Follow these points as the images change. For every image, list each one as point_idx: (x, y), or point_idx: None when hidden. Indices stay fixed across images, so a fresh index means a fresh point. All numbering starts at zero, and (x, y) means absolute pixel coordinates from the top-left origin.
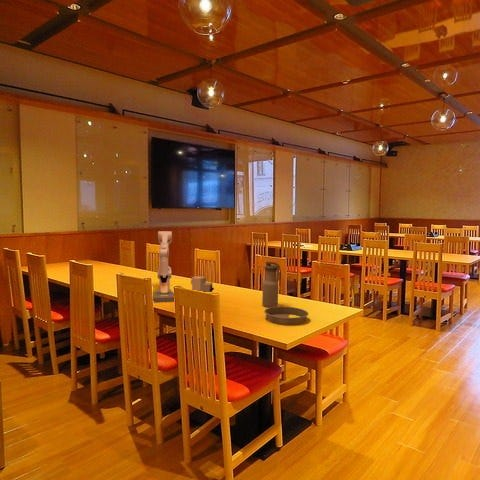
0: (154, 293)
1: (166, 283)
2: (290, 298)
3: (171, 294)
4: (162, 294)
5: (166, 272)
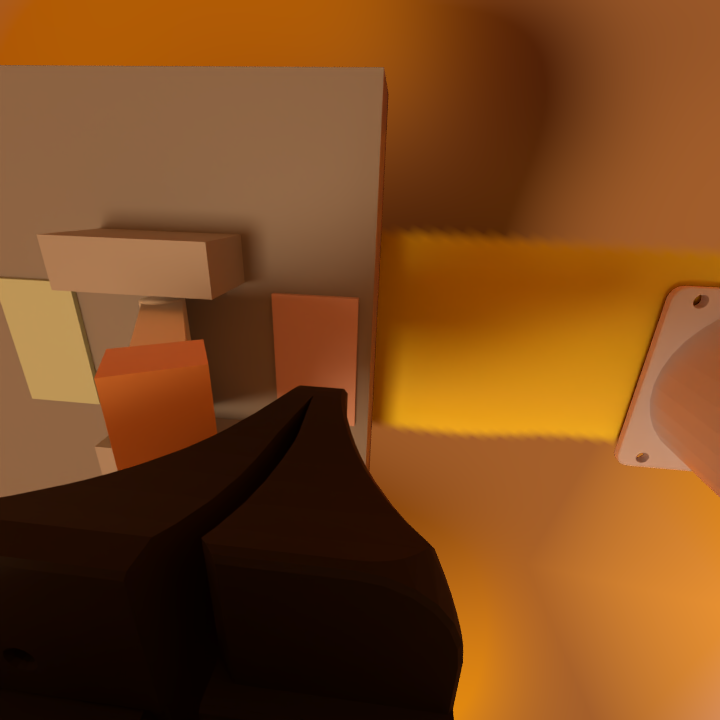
0: (222, 171)
1: None
2: None
3: None
4: None
5: None
